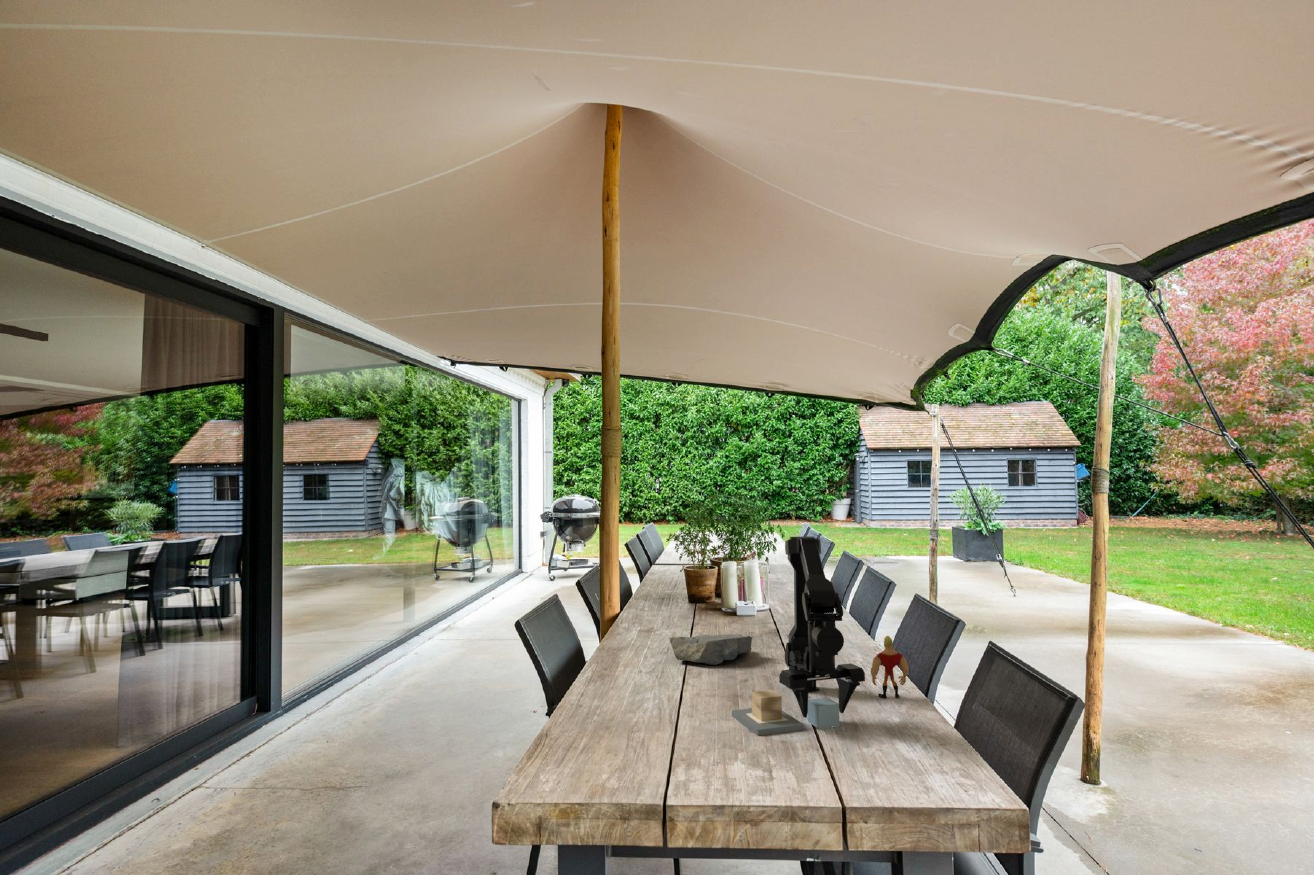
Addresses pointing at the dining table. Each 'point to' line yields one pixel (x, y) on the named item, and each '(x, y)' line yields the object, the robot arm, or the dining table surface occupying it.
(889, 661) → the action figure
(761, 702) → the oak block
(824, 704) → the blue block
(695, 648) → the stone
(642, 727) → the dining table surface
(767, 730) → the board
